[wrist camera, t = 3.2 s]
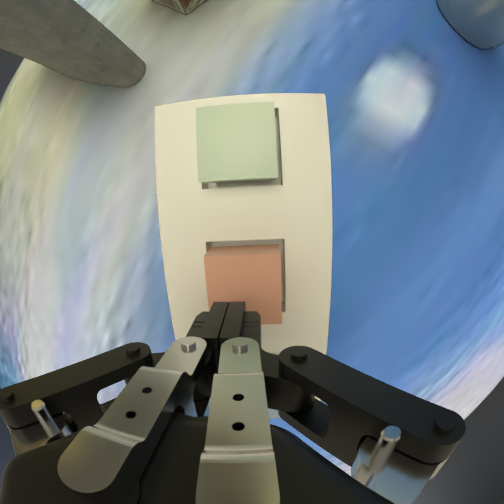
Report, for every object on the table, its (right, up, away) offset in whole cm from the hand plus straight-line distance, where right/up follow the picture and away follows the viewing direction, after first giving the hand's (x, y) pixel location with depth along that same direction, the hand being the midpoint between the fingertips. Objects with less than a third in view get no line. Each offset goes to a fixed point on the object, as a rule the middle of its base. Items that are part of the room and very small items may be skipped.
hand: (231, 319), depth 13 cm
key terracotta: (+1, +1, +7) cm, 7 cm away
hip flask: (-16, +23, +7) cm, 29 cm away
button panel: (+1, +2, +10) cm, 11 cm away
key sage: (0, +10, +5) cm, 11 cm away
